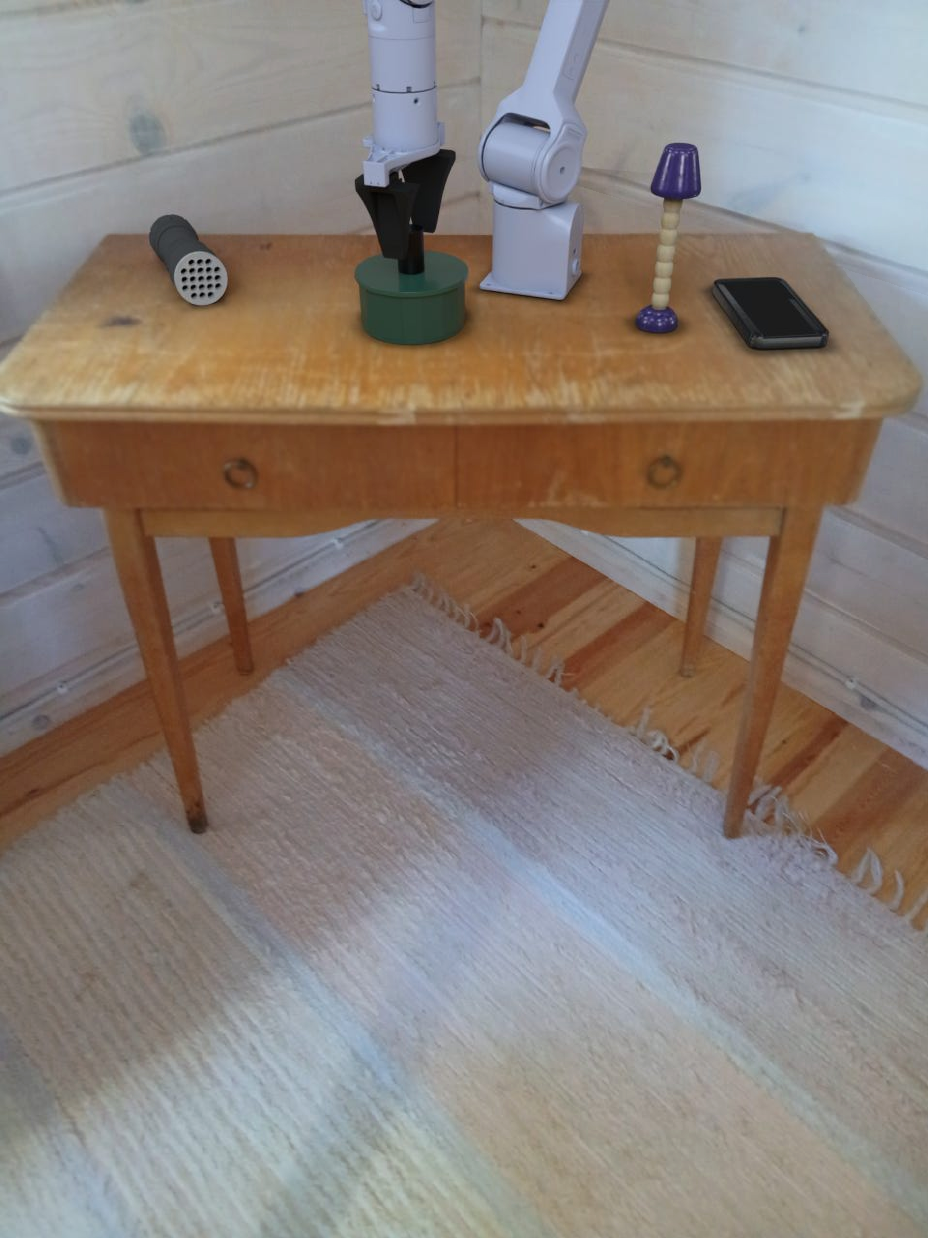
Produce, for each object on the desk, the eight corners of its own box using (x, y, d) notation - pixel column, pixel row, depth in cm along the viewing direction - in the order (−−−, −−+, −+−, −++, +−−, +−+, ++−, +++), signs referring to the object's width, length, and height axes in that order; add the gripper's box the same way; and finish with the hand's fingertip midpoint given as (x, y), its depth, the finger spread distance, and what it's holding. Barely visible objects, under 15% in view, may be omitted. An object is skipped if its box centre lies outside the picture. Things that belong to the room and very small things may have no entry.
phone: (753, 339, 91) (711, 278, 102) (751, 350, 92) (709, 288, 103) (834, 335, 91) (783, 275, 103) (831, 346, 92) (781, 286, 103)
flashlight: (151, 261, 110) (140, 212, 107) (197, 253, 112) (188, 205, 109) (180, 309, 100) (170, 257, 96) (231, 300, 101) (222, 248, 98)
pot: (478, 309, 99) (478, 262, 96) (443, 351, 92) (442, 301, 89) (387, 296, 102) (384, 250, 99) (345, 335, 95) (341, 287, 92)
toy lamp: (629, 314, 98) (649, 139, 87) (673, 312, 99) (699, 137, 88) (640, 334, 95) (663, 154, 84) (686, 332, 95) (714, 152, 84)
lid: (483, 267, 97) (484, 216, 93) (444, 310, 89) (443, 255, 86) (382, 254, 100) (379, 203, 96) (336, 294, 92) (331, 240, 88)
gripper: (394, 65, 89) (400, 215, 98) (325, 100, 79) (339, 264, 88) (465, 71, 87) (465, 223, 96) (404, 107, 77) (410, 274, 86)
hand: (410, 243), depth 92 cm, fingers open, 7 cm apart
